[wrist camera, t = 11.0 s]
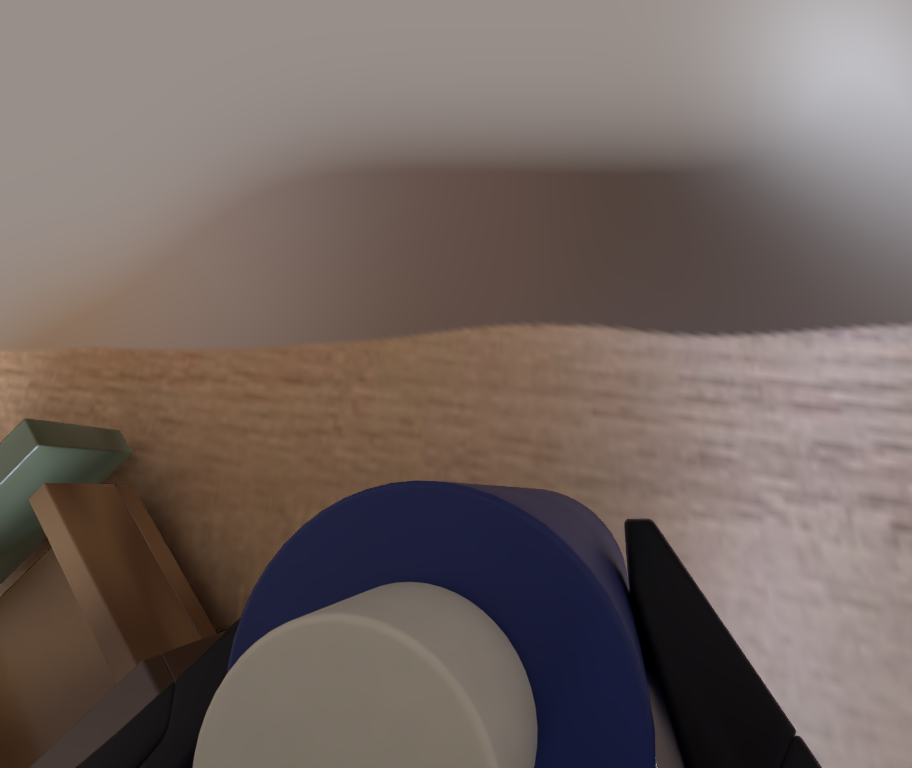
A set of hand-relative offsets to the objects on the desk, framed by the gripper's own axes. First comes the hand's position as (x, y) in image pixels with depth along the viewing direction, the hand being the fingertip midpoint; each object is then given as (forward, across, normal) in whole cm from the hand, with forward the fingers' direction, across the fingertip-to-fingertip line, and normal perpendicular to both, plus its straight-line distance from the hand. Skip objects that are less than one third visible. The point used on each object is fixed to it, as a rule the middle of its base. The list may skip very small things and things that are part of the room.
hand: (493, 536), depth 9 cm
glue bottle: (+2, 0, +4) cm, 5 cm away
